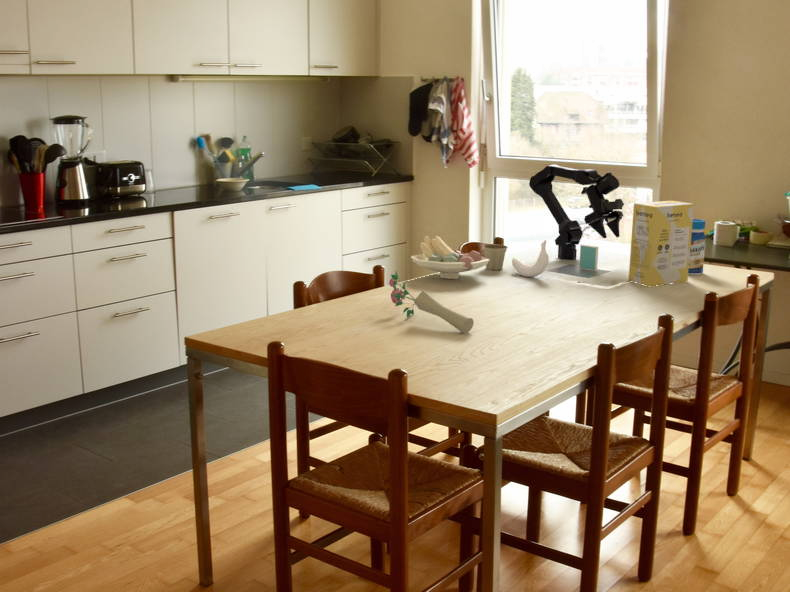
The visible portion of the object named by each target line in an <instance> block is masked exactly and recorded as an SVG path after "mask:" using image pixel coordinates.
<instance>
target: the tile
mask: <svg viewBox="0 0 790 592" xmlns="http://www.w3.org/2000/svg"><path fill="white" fill-rule="evenodd" d="M579 249H580V250H579V265H578V266H579V268H580V269H586V270H592V271H597V269H598V261H599V260H598V259H599V246H596V245H590V244H580V247H579Z"/></svg>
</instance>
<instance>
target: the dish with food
mask: <svg viewBox="0 0 790 592" xmlns="http://www.w3.org/2000/svg"><path fill="white" fill-rule="evenodd" d="M423 240H424V242H420V245H419V246H420V249H421V252H422V253H420V254H415V255H411V256H410V258H411V259H412V262H413V263H415V264H416V265H418V266H420V267H421V268H424V269H426V270H428V271H433V272H437V273H439V277H440V278H441V279H451V280H452V279H459V278H460V273H465V272H470V271H473V270H474V271H475V270H478V269H480V268H483V267H486V265H487V263H488V262H489V259H487V258H485V256H482V254H481V253H480V252H479V251H476V250H471V251H470V252H468V253H460V252H456V251H454V250H453V249H452V248H451V247H450V246H448V244H447V243H446V242H445V241H444V240H443V239H442V238H441V237H440V236H438V235H435V237H434V238H432V239H431V238H430V237H429V236H428V235H425V236H424V237H423Z"/></svg>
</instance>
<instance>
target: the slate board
mask: <svg viewBox="0 0 790 592" xmlns="http://www.w3.org/2000/svg"><path fill="white" fill-rule="evenodd" d="M545 271H546V272H552V273H556V274H557V273H558V274H563V275H568V276H575V277H579V278H587V279H590V278H593V277H597V276H601V275H604V274H608V273H611V270H610V271H609V270H605V269H600V268H599V269H598V268H597V271H592V270H586V269H580V268H579V265H574V264H566V265H562V266H558V267H555V268H551V269H545Z"/></svg>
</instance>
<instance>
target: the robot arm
mask: <svg viewBox="0 0 790 592" xmlns="http://www.w3.org/2000/svg"><path fill="white" fill-rule="evenodd" d="M556 177H559V178H565V179H569V180H571V181H574V182H575V183H577V184H579V185H582V186H584V187H582V190H581V192H580V194H581V195H586V196H587V199H588V201H589V205H588V208H589V209H592V212H591V213H588V214H587V215H585V216H584V219H583V220H584V224H585V225H588V226H589V227H590V228H592V229H593V230H594V231H596V233H598V234H599V236H601V237H602V239H607V232H606V230H605V225H604V222H606V226H607V227H608V228H609V230H610V231H611V232H612V234H613V235H614V236H615V237H616V238H619V237H620V222H621V220H622V219H623V217H624V213H623V211H622V210H623V206H625V203H624V201H623V200H622V198H615V199H614V201H613V200H612V201H609V199H608V198H605V196H604V195H608V194H610V193H612V192H613V191H615V190H617V189H618V188H620V187H619V186H620V182H619V179H618V178H617V177H616V176H615V175H614V174H613V173H612V172H611V171H610V172H606V173H605V174H604V175H603V176H602V175H601V174H599V172H598V170H596V169H593V168H592V169H576V168H572V167H566V166H562V165H561V166H560V165H557V164H549V165H547V166H545V167H544V168H543V169H541V170H540V171H538V172H537V173H535V175H532V176H531V177H530V179H529V182H528V185H529V188H530V189H531V190H532V192H534V193H535V194H536V195H538V196H539V197H540V198H541V199H542V201H543V202H544V204H545V205H546V207H547V209H548V210H549V212H550V214H551V216H552V217H553V219H554V221H555V223H557V225H558V234H559V235H558V236H557V237H556V238H555V239H554V242H555V243H554V244H555V246H558V248H557V257H556V258H555V260H557V259H561V260H565V261H566V260H567V261H569V260H570V261H574V260H576V259H577V252H578V251H577V245H579V244H580V242H581V239H582V237H583V231H582V228H583V227H581V226H580V224H579V222H578V221H577V220H571V219H570V218H569V216H568V215H567V213H566V211H565V210H564V208H563V206H562V204H561V203H560V201H559V200H558V198H557V196H556V195H555V193H554V191H553V183H552V182H553V181H554V180H555V178H556Z"/></svg>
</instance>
